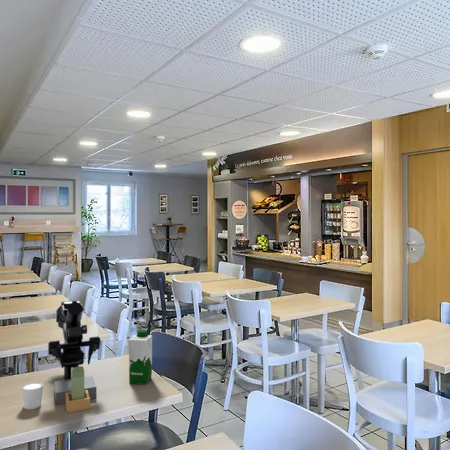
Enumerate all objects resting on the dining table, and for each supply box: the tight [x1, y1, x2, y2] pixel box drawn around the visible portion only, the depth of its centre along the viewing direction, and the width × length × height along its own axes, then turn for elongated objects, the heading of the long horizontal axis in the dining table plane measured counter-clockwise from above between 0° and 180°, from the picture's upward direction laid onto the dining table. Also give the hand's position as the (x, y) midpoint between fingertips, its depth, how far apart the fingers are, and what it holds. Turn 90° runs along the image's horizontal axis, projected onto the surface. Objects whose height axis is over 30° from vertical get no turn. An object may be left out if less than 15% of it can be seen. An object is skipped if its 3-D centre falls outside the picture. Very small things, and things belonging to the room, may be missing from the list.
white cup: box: [21, 382, 44, 410], centre depth 151 cm, size 7×7×7 cm
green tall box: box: [71, 365, 85, 401], centre depth 151 cm, size 5×4×13 cm
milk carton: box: [128, 329, 153, 385], centre depth 175 cm, size 9×9×20 cm
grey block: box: [54, 375, 97, 413], centre depth 157 cm, size 21×14×4 cm
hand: (75, 365), depth 158 cm, fingers open, 9 cm apart
